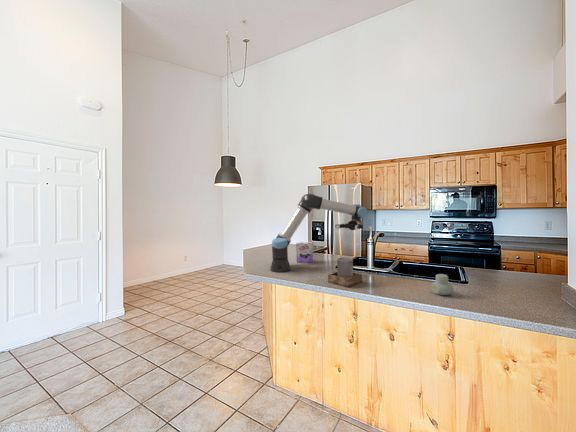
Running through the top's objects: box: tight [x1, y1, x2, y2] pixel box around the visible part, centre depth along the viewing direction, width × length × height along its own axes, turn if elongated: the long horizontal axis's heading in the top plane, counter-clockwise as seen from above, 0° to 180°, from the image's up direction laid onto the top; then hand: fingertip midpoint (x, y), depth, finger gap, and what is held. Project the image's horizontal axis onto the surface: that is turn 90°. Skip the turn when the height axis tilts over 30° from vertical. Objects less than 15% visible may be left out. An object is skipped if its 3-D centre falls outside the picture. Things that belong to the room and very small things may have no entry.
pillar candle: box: [336, 257, 354, 279], centre depth 171 cm, size 10×10×15 cm
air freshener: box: [430, 273, 455, 296], centre depth 146 cm, size 11×8×10 cm
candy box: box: [295, 241, 314, 263], centre depth 231 cm, size 14×6×16 cm, turn 80°
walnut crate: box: [327, 271, 363, 288], centre depth 171 cm, size 15×15×5 cm
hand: (345, 227), depth 192 cm, fingers open, 13 cm apart
